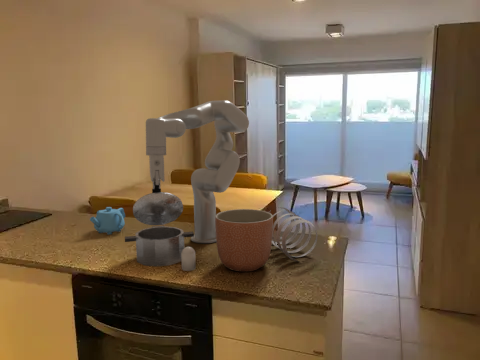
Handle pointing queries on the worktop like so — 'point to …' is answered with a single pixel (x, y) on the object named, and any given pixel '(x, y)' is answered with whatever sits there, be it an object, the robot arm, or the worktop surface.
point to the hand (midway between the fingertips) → (156, 199)
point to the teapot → (109, 220)
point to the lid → (157, 208)
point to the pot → (159, 245)
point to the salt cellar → (188, 259)
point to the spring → (288, 231)
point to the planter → (244, 238)
